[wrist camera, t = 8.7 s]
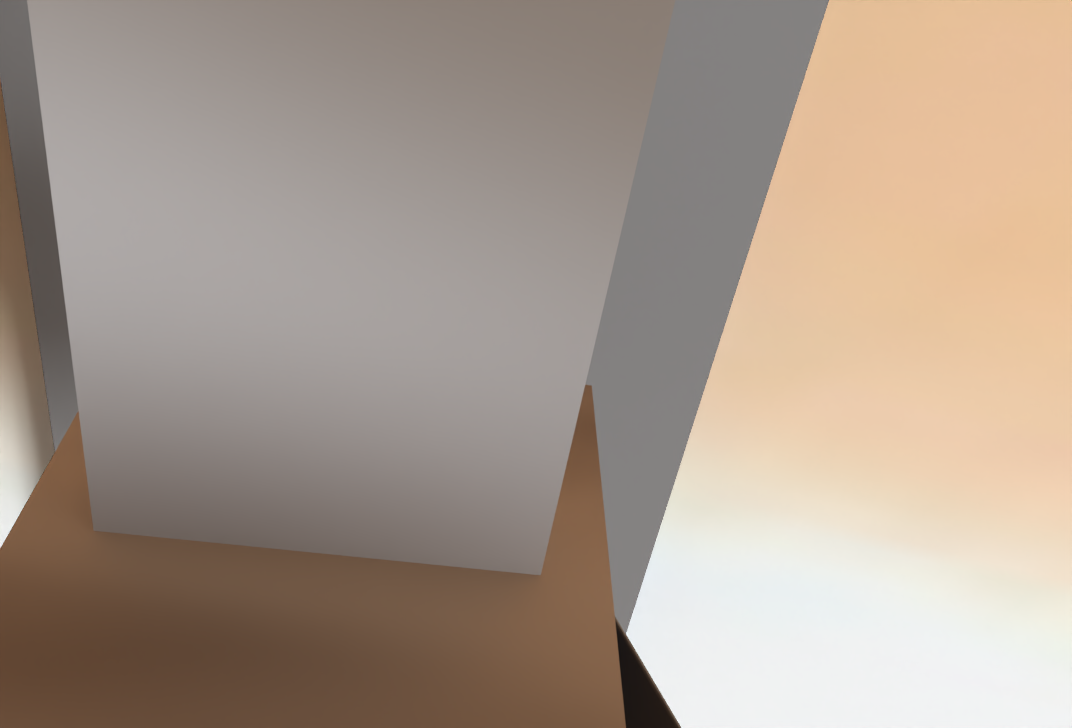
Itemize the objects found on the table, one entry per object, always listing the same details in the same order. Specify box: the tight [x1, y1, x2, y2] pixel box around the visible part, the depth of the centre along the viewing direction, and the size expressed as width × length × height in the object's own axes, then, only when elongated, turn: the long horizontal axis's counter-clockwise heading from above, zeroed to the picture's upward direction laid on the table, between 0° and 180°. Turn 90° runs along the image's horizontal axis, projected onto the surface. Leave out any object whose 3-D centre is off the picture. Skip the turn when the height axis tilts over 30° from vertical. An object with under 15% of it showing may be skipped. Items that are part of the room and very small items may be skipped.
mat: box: [0, 0, 829, 634], centre depth 14 cm, size 16×9×1 cm, turn 171°
